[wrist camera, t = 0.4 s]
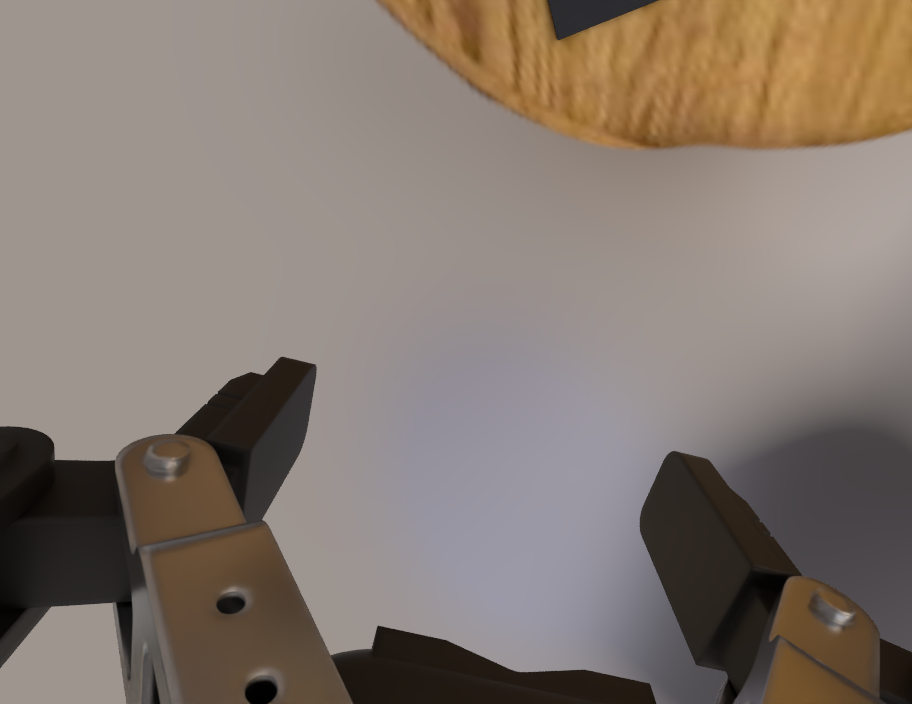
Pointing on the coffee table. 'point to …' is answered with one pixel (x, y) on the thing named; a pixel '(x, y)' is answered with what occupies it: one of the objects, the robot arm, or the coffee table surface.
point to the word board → (588, 13)
